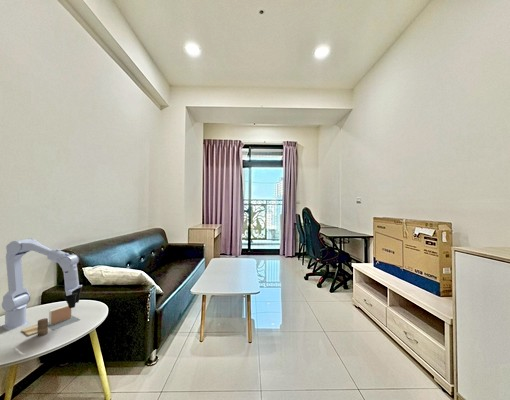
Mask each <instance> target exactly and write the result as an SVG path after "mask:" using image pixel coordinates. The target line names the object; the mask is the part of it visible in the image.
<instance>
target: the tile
mask: <svg viewBox="0 0 510 400" xmlns="http://www.w3.org/2000/svg"><path fill="white" fill-rule="evenodd" d="M71 315H72V308H69V306H68V304H65V305H63V306H60V307H55V308H52V309H50V310H49V311H48V322H49V325H53V324H55V323H58V322H61V321H64V320H67V319H69V318H71Z"/></svg>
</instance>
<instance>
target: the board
mask: <svg viewBox="0 0 510 400" xmlns="http://www.w3.org/2000/svg"><path fill="white" fill-rule="evenodd" d="M21 332H22V333H24V334H25V335H26V336H27V337H30V336H33V335H36V334H38V323H37V324H35V325H32V326H28V327H25V328H22V329H21Z"/></svg>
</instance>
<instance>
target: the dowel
mask: <svg viewBox="0 0 510 400" xmlns="http://www.w3.org/2000/svg"><path fill="white" fill-rule="evenodd" d="M48 322H49V318H41V319H39V320H37V324H38V333H37V337H43V336H45V335H47V334H48V333H49V332H48V331H49V328H48Z"/></svg>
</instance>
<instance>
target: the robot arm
mask: <svg viewBox="0 0 510 400" xmlns="http://www.w3.org/2000/svg"><path fill="white" fill-rule="evenodd" d="M5 249H6V253H5V264H6V276H7V277H6V278H7V286H8V287H7V288H8V289H7V290H8V291H7V292H6V293H5V294H4V295H3V296H2V302H1V308H2V310H4V312H5V313H4V324H2V327H3V328H4V329H5V330H6V331H11V330H14V329H17V328H20V327H23V326H26V325H29V324H30V322H28V321H27V306H28V305H29V303H30V302H31V295H30V292H29V289H28V288H25V286H24V277H23V276H24V275H23V267H22V266H23V264H22V258H23V257H24V256H25V255H26V254H27V253H29V252H32V251H33V252H35V253H39V254H42V255H44V256H47V260H49V261H52V262H54V263H56V264H58V265H59V267H60V268H61V269H62V271H61V272H62V273H63V279H64V291H65V294H63V295H62V297H63V300H65V301H66V303H67V304H66V305H68V306H69V308H71V309H73V308H75V307H76V304H77V303H79V301H80V296H81V291H82V289H83V284H80V281H79V271H78V263H79V262H80V257H79V256H78V255H77V254H75V253H72V254H70V253H69V252H65V251H64V250H63V251H62V250H61V248H53V249H52V248H51V247H50V248H49V247H48V246H46V245H44V244H42V243H40V242H38V240H37V239H34V238H32V237H31V238H30V237H29V238H26V239H20V240H12V241H10V242H9V243H8V244H6V246H5Z"/></svg>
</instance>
